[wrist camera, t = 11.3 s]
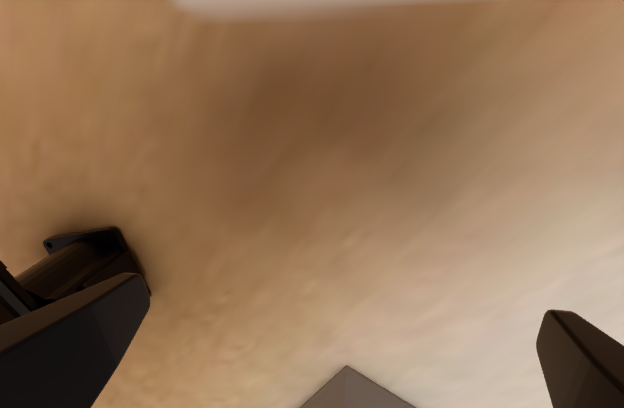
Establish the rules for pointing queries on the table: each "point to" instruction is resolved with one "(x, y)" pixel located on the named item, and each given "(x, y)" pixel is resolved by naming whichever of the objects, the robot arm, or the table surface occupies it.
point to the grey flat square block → (354, 393)
